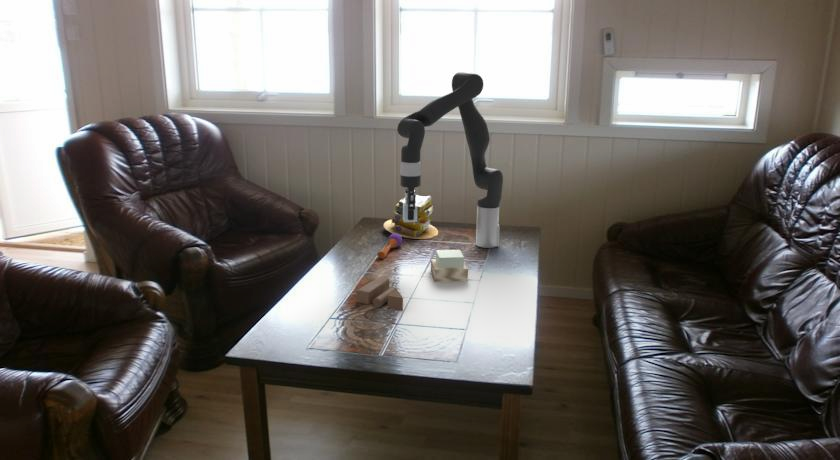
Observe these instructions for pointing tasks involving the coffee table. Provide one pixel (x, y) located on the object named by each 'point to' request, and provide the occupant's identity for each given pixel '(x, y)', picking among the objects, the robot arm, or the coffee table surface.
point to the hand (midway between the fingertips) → (410, 217)
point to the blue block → (405, 213)
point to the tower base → (448, 273)
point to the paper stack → (413, 229)
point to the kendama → (390, 245)
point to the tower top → (449, 259)
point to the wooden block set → (380, 294)
